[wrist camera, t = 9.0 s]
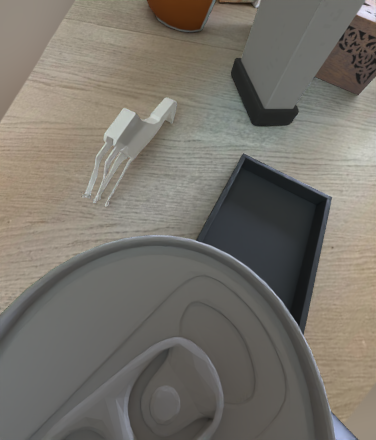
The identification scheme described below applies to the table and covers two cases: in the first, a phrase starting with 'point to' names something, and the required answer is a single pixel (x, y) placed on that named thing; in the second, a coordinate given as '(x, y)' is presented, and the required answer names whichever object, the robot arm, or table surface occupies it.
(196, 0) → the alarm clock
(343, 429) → the robot arm
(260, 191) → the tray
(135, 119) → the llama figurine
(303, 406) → the beverage can
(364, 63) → the tissue box cover
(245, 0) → the white toothpaste tube
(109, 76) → the table surface
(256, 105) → the container
